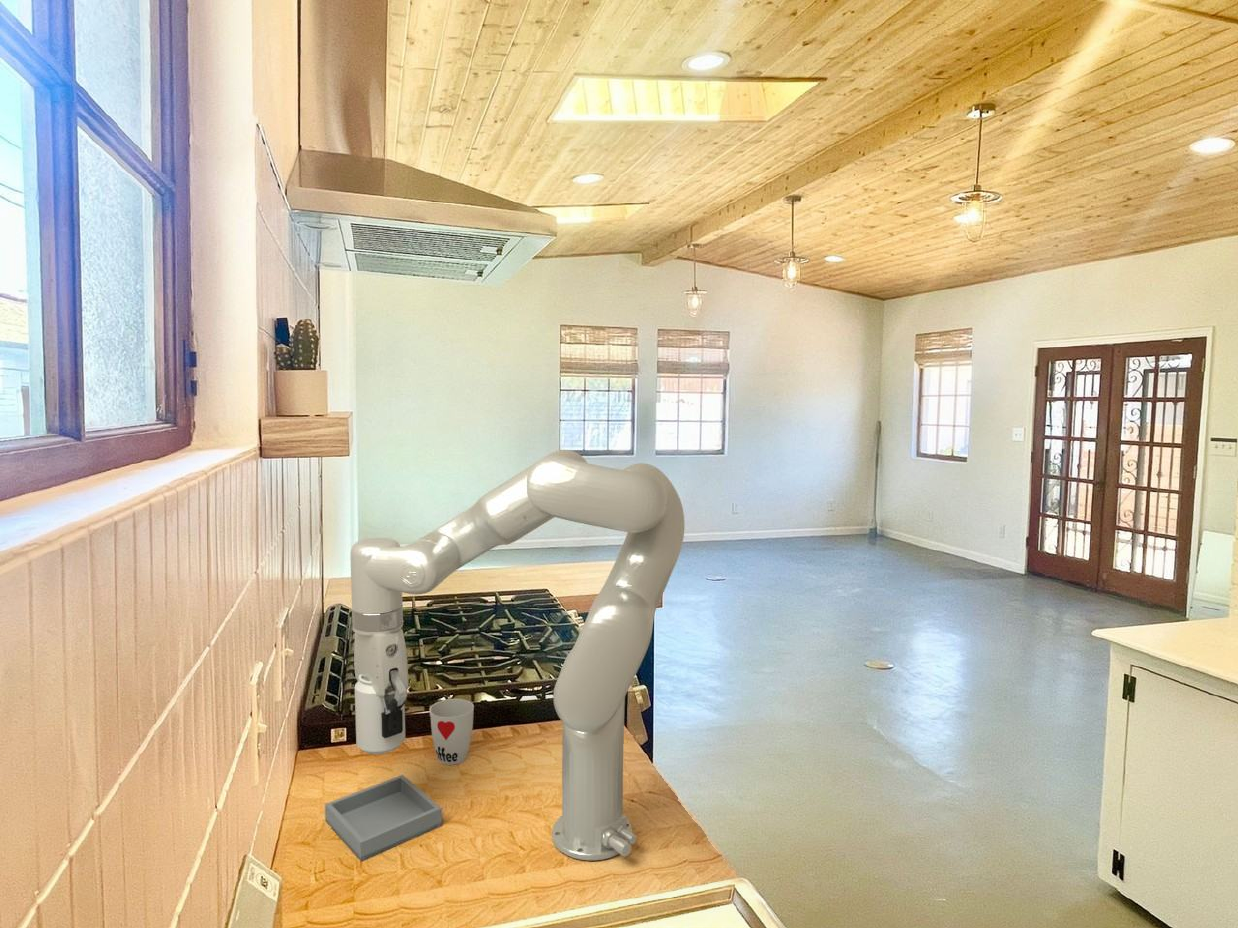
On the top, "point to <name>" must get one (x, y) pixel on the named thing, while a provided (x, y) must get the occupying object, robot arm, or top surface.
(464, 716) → the cup
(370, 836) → the bin
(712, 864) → the top surface
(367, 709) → the can
